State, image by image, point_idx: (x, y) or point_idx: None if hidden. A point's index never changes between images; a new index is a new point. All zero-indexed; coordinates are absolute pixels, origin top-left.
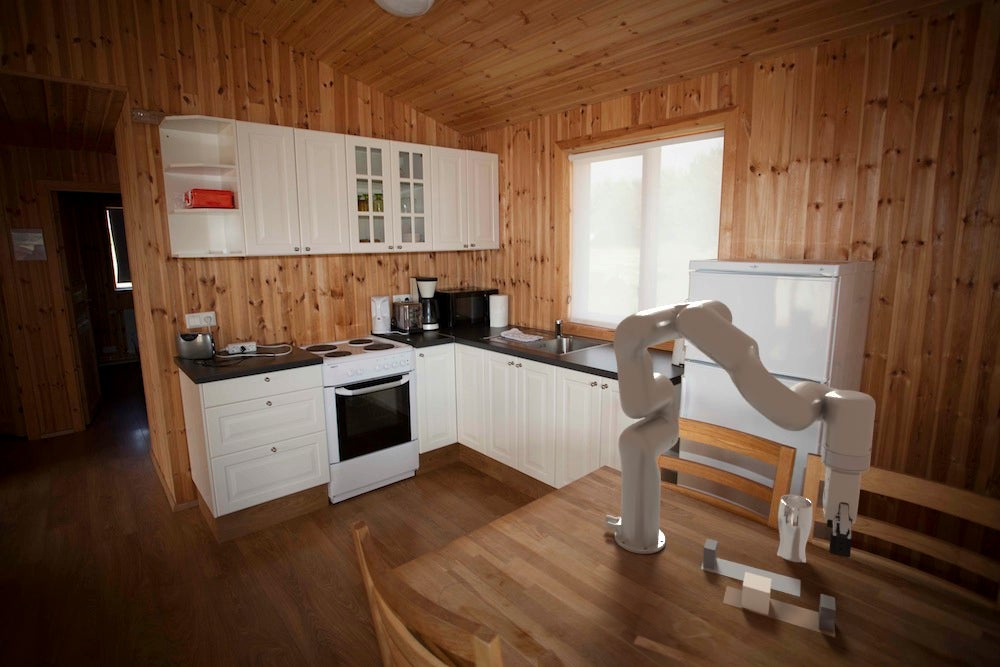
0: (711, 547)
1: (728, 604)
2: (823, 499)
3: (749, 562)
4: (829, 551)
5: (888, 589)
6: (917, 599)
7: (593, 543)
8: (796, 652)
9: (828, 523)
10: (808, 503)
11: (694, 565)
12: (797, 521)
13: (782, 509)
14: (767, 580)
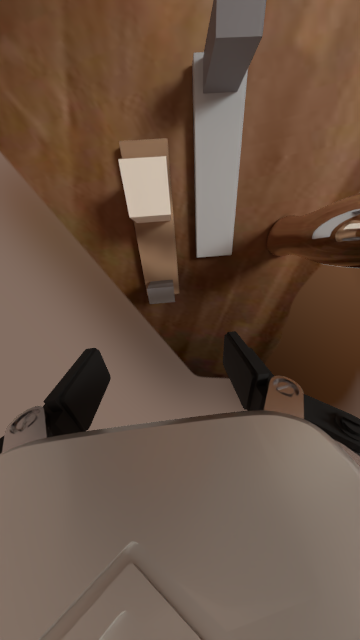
0: (225, 17)
1: (121, 153)
2: (170, 509)
3: (258, 173)
4: (85, 350)
5: (252, 329)
6: None
7: None
8: (106, 263)
9: (229, 340)
10: None
11: None
12: (331, 240)
13: None
14: (162, 207)
